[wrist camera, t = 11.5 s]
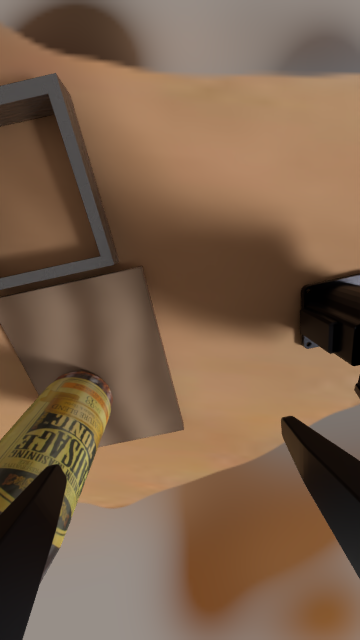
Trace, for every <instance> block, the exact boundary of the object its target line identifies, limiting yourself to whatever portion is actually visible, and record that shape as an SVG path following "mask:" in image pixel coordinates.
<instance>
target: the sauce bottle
mask: <svg viewBox="0 0 360 640" xmlns="http://www.w3.org/2000/svg"><path fill="white" fill-rule="evenodd" d="M112 402H113V398H112V393H111V390H110V388H109V385H108V384H106V382H105V381H104V380H102V379H101V378H100V377H98V376H96V375H94V374H92V373H88V372H85V371H75V372H71V373H67V374H64V375H62V376H60V377H58V378H57V379H56V380H55V381H54V382H53V383H51V384H50V385H49V386H48V387H47V388H46V389H45V390H44V391H43V392H42V393H41V395H40V396H39V397H38V398H37V399H36V400H35V401H34V403H33V404H32V405H31V406H30V407H29V408H28V409H27V411H26V412H25V413H24V414H23V415H22V416H21V417H20V418H19V420H18V421H17V422H16V423H15V424H14V425H13V426H12V428H11V429H10V430H9V431H8V432H7V433H6V434H5V435H4V436H3V438H2V439H1V440H0V514H1V513H2V512H3V511H4V510H5V509H6V508H7V507H8V506H9V505H10V504H11V503H12V502H13V501H14V500H15V499H16V498H17V497H18V495H19V494H20V493H21V492H22V491H23V490H24V489H25V488H26V487H27V486H28V485H29V484H30V483H31V482H32V481H33V480H34V479H35V478H36V477H37V476H38V475H39V474H40V473H41V472H42V471H43V470H44V469H45V468H46V467H47V466H49V465H54V464H59V465H60V466H61V468H62V470H63V472H64V473H65V475H66V477H67V485H66V489H65V494H64V498H63V503H62V507H61V512H60V516H59V520H58V525H57V529H56V532H55V536H54V539H53V543H52V546H51V549H50V552H49V555H48V559H47V562H46V565H45V568H44V572H43V575H42V578H41V581H42V579H43V577H44V575H45V574H46V572H47V570H48V568H49V566H50V564H51V563H52V561H53V559H54V557H55V556H56V554H57V552H58V550H59V548H60V546H61V544H62V541H63V539H64V536H65V533H66V531H67V528H68V526H69V524H70V520H71V517H72V515H73V512H74V509H75V507H76V504H77V501H78V499H79V496H80V494H81V492H82V488H83V486H84V483H85V480H86V478H87V475H88V473H89V470H90V467H91V465H92V462H93V459H94V457H95V454H96V451H97V448H98V446H99V443H100V441H101V438H102V435H103V433H104V430H105V427H106V424H107V422H108V419H109V416H110V413H111V406H112ZM41 581H40V583H41Z"/></svg>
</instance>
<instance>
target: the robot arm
mask: <svg viewBox="0 0 360 640" xmlns="http://www.w3.org/2000/svg"><path fill="white" fill-rule="evenodd" d="M308 289H309V292H308V293H307V290H308ZM300 333H301V334H302V346H304V347H305V348H307V349H309V348H314V347H319V346H320V347H321V348H323V349H324V350H325V351H327V352H328V353H330V354H332V353H334V354H336V355H337V356H339V357H340V358H342V359H343V360H345V361H346V362H348V363H349V364H351V365H352V366H358V365H360V274H356V275H351V276H347V277H342V278H337V279H333V280H328V281H323V282H319V283H314V284H309V285H306V286H304V287H303V288H302V291H301V310H300ZM308 342H309V343H308ZM307 343H308V344H307ZM306 344H307V345H306ZM354 390H355V392H356V394H357V395H358V397H359V398H360V376H359V380H358V383H357V384H356V385H355V389H354ZM281 428H282V436H283V439H284V441H285V443H286V445H287V447H288V450H289V452H290V454H291V456H292V458H293V460H294V462H295V465H296V467H297V469H298V471H299V473H300V475H301V478H302V479H303V481H304V483H305V485H306V487H307V489H308V491H309V492H310V494H311V496H312V497H313V499H314V501H315V503H316V504H317V506H318V508H319V510H320V511H321V513H322V515H323V516H324V518H325V520H326V522H327V523H328V525H329V527H330V529H331V530H332V532H333V534H334V535H335V537H336V539H337V540H338V542H339V544H340V545H341V547H342V549H343V551H344V553H345V554H346V556H347V558H348V560H349V561H350V563H351V565H352V566H353V568H354V570H355V572H356V573H357V575H358V577H359V578H360V461H359V460H357V459H356V458H355V457H353V456H352V455H350V454H348V453H347V452H345V451H344V450H343V449H341V448H340V447H338V446H337V445H335V444H334V443H332V442H331V441H329V440H327V439H326V438H324V437H323V436H322V435H320V434H319V433H317V432H316V431H314V430H313V429H311V428H310V427H308V426H307V425H305V424H304V423H302V422H301V421H299V420H298V419H296V418H295V417H293V416H287V417H283V418H282V419H281ZM66 485H67V477H66V475H65V473H64V472H63V470H62V468H61V466H60V465H59V464H54V465H49V466H47V467H46V468H45V469H44V470H43V471H42V472H41V473H40V474H39V475H38V476H37V477H36V478H35V479H34V480H33V481H32V482H31V483H30V484H29V485H28V486H27V487H26V488H25V489H24V490H23V491H22V492H21V493H20V494H19V495H18V497H17V498H16V499H15V500H14V501H13V502H12V503H11V504H10V505H9V506H8V507H7V508H6V509H5V510H4V511H3V512H2V513H1V514H0V640H22V639H23V636H24V632H25V629H26V626H27V623H28V620H29V616H30V613H31V610H32V607H33V604H34V601H35V597H36V594H37V591H38V588H39V584H40V581H41V578H42V575H43V572H44V568H45V565H46V562H47V559H48V555H49V552H50V549H51V546H52V543H53V539H54V536H55V532H56V529H57V525H58V520H59V516H60V512H61V507H62V503H63V498H64V494H65V489H66Z"/></svg>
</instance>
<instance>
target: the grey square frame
mask: <svg viewBox="0 0 360 640" xmlns="http://www.w3.org/2000/svg"><path fill="white" fill-rule="evenodd" d="M53 114H55V116H56V119H57V122H58V126H59V129H60V132H61V135H62V138H63V141H64V144H65V147H66V150H67V153H68V157H69V160H70V163H71V166H72V169H73V172H74V175H75V178H76V181H77V184H78V188H79V191H80V194H81V197H82V200H83V203H84V206H85V209H86V212H87V215H88V219H89V222H90V225H91V228H92V231H93V234H94V237H95V240H96V243H97V246H98V250H99V253H100V256H99V257H95V258H90V259H86V260H81V261H76V262H72V263H67V264H63V265H58V266H54V267H49V268H45V269H40V270H35V271H31V272H26V273H22V274H17V275H13V276H8V277H4V278H0V290H1V289H5V288H10V287H15V286H19V285H24V284H28V283H33V282H37V281H42V280H47V279H51V278H56V277H60V276H65V275H69V274H74V273H79V272H83V271H88V270H92V269H97V268H101V267H106V266H111V265H115V264H117V263H119V259H118V255H117V252H116V249H115V245H114V242H113V238H112V235H111V232H110V228H109V225H108V221H107V218H106V215H105V211H104V208H103V205H102V201H101V198H100V194H99V191H98V188H97V184H96V181H95V177H94V174H93V171H92V167H91V164H90V161H89V157H88V154H87V150H86V147H85V144H84V140H83V137H82V134H81V130H80V127H79V123H78V120H77V117H76V113H75V110H74V106H73V103H72V100H71V96H70V94H69V92H68V91H67V89H66V88H65V86H64V85H63V83H62V82H61V80H60V79H59V77H58V76H57V74H56V73H54V74H50V75H45V76H41V77H37V78H33V79H28V80H24V81H20V82H16V83H11V84H7V85H3V86H0V127H1V126H5V125H9V124H14V123H18V122H22V121H27V120H31V119H35V118H40V117H44V116H48V115H53Z"/></svg>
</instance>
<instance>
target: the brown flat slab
mask: <svg viewBox="0 0 360 640" xmlns="http://www.w3.org/2000/svg"><path fill="white" fill-rule="evenodd" d="M0 324H1V325H2V327H3V329H4V331H5V333H6V335H7V337H8V338H9V340H10V342H11V344H12V346H13V348H14V350H15V351H16V353H17V355H18V357H19V359H20V361H21V363H22V365H23V366H24V368H25V370H26V372H27V374H28V376H29V378H30V379H31V381H32V383H33V385H34V387H35V389H36V391H37V392H38V394H39V396H40V395H41V393H42V392H43V391H44V390H45V389H46V388H47V387H48V386H49V385H50V384H51V383H53V382H54V381H55V380H56V379H57V378H58V377H60V376H62V375H64V374H67V373H71V372H75V371H85V372H88V373H92V374H94V375H96V376H98V377H100V378H101V379H102V380H104V381H105V382H106V384H108V385H109V388H110V390H111V393H112V398H113V402H112V406H111V413H110V416H109V419H108V422H107V424H106V427H105V430H104V433H103V435H102V438H101V441H100V443H99V446H98V447H102V446H107V445H112V444H117V443H122V442H127V441H132V440H136V439H141V438H146V437H151V436H156V435H161V434H166V433H171V432H176V431H180V430H184V426H183V420H182V416H181V412H180V409H179V405H178V401H177V397H176V393H175V389H174V386H173V382H172V378H171V374H170V370H169V366H168V363H167V359H166V355H165V351H164V347H163V343H162V340H161V336H160V332H159V328H158V324H157V320H156V317H155V313H154V309H153V305H152V301H151V297H150V294H149V290H148V286H147V282H146V278H145V274H144V271H143V267H142V266H140V267H135V268H131V269H126V270H122V271H117V272H112V273H108V274H103V275H99V276H94V277H90V278H85V279H80V280H76V281H71V282H67V283H62V284H57V285H53V286H48V287H44V288H39V289H35V290H30V291H25V292H21V293H16V294H12V295H7V296H2V297H0Z"/></svg>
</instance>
